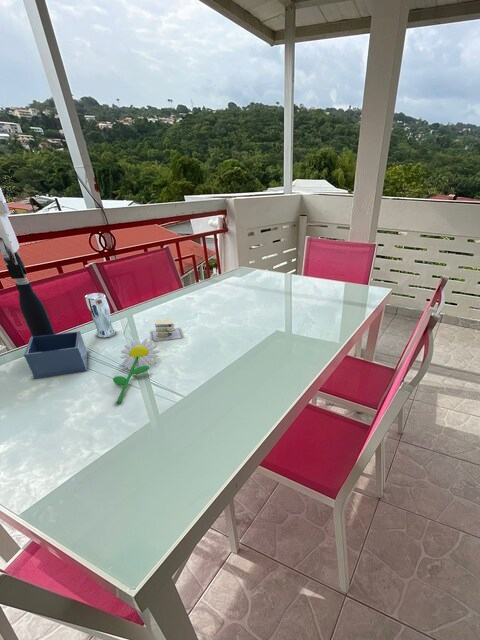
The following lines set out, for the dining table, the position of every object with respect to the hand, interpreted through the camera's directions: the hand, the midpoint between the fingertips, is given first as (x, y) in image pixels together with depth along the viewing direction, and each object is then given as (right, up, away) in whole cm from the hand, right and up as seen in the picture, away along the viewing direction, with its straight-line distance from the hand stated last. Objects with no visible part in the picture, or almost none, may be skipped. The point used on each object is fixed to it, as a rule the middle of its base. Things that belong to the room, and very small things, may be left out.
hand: (19, 275), depth 102 cm
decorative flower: (+35, -31, +1) cm, 47 cm away
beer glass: (+12, -13, +26) cm, 31 cm away
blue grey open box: (+10, -27, +5) cm, 29 cm away
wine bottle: (-1, -20, +14) cm, 25 cm away
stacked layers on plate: (+35, -13, +28) cm, 46 cm away
